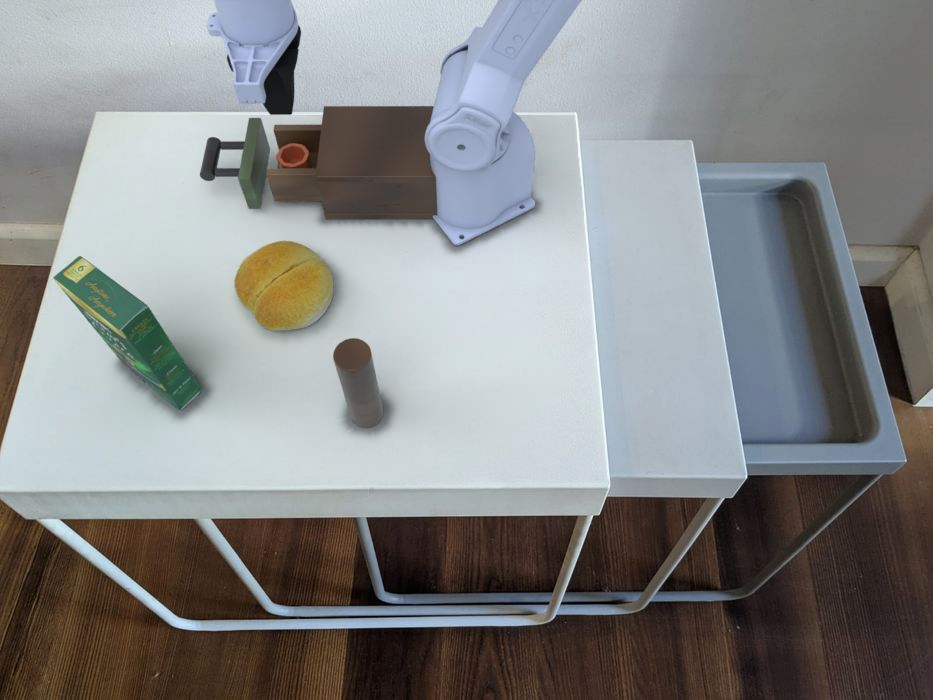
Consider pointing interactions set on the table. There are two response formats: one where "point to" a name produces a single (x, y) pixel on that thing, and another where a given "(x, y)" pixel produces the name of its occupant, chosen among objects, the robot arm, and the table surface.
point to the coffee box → (129, 331)
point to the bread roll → (284, 285)
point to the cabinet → (376, 163)
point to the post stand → (359, 382)
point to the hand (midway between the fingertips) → (281, 109)
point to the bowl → (294, 156)
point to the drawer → (255, 162)
